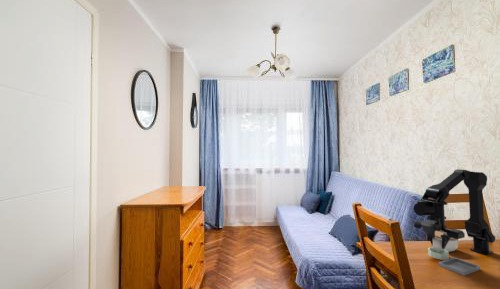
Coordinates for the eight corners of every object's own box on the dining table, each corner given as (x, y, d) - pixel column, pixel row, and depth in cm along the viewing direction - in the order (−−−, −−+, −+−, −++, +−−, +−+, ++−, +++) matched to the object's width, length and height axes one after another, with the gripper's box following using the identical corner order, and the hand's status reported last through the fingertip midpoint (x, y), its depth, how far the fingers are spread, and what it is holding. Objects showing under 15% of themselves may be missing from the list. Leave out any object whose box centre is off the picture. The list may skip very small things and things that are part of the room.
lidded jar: (464, 255, 111) (463, 235, 111) (439, 253, 113) (438, 234, 113) (450, 246, 121) (449, 228, 122) (427, 244, 124) (426, 227, 124)
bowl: (434, 252, 114) (434, 246, 114) (452, 258, 107) (452, 252, 107) (424, 255, 111) (424, 249, 112) (442, 262, 104) (442, 255, 105)
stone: (430, 248, 111) (430, 238, 111) (436, 246, 112) (435, 237, 112) (440, 251, 107) (440, 241, 107) (445, 249, 108) (445, 240, 109)
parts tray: (454, 261, 105) (454, 257, 105) (480, 270, 97) (480, 266, 97) (438, 266, 100) (438, 262, 101) (464, 276, 92) (464, 272, 92)
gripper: (405, 211, 116) (407, 242, 115) (449, 221, 98) (451, 258, 98) (420, 209, 120) (421, 239, 119) (464, 218, 103) (466, 253, 102)
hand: (438, 247), depth 110 cm, fingers closed on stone, 4 cm apart
